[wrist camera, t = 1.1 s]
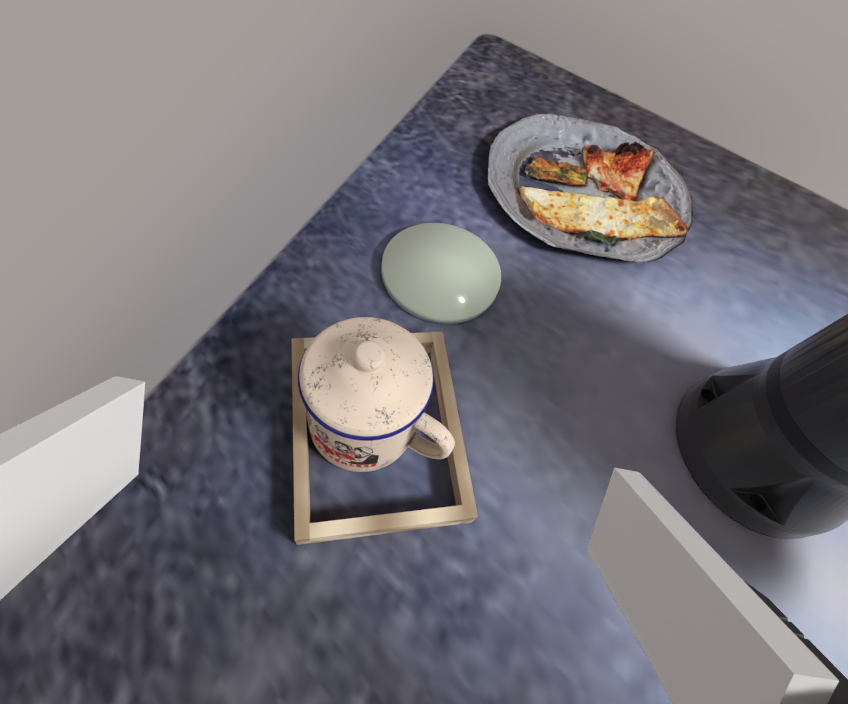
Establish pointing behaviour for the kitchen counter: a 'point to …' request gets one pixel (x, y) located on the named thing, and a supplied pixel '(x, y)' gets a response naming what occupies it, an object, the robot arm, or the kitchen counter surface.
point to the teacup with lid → (369, 395)
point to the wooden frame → (394, 521)
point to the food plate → (591, 189)
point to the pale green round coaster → (440, 273)
